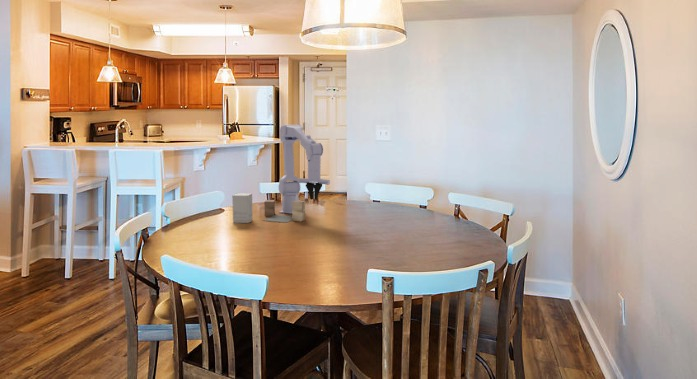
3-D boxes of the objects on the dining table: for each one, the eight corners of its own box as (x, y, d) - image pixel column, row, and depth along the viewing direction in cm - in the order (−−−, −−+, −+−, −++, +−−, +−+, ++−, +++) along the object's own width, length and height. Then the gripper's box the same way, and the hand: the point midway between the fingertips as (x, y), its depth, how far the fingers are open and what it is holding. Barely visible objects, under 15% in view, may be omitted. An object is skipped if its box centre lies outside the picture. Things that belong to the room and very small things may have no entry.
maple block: (296, 219, 234) (296, 200, 233) (305, 219, 232) (305, 200, 231) (292, 220, 230) (292, 201, 228) (301, 221, 228) (301, 202, 227)
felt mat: (276, 215, 242) (276, 214, 242) (298, 217, 238) (298, 216, 238) (262, 220, 229) (262, 220, 229) (286, 222, 225) (286, 222, 225)
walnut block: (265, 213, 245) (265, 200, 244) (274, 214, 245) (274, 200, 244) (264, 215, 241) (264, 201, 240) (273, 215, 241) (273, 201, 240)
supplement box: (253, 220, 230) (252, 193, 228) (248, 223, 222) (248, 195, 221) (237, 219, 230) (237, 192, 229) (232, 222, 223) (231, 195, 221)
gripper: (295, 169, 224) (295, 199, 226) (326, 171, 219) (325, 201, 221) (302, 168, 230) (301, 197, 232) (331, 169, 226) (331, 199, 228)
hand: (313, 199), depth 227 cm, fingers closed
